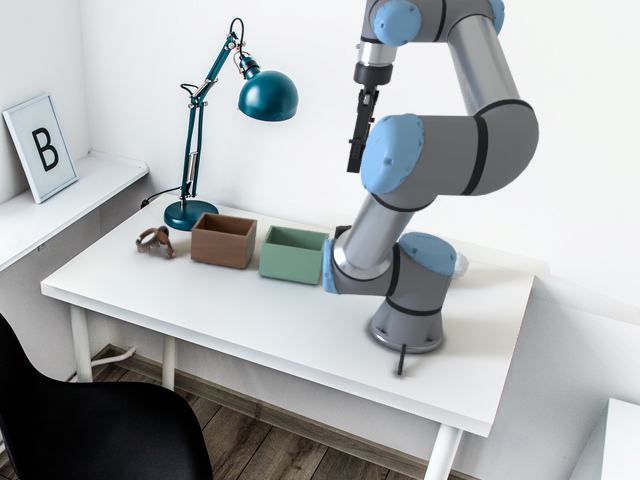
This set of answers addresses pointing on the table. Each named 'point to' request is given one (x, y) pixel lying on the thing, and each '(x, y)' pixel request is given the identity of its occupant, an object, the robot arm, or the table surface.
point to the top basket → (292, 254)
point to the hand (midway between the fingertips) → (356, 161)
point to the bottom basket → (223, 240)
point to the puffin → (460, 266)
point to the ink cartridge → (341, 230)
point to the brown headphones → (155, 240)
